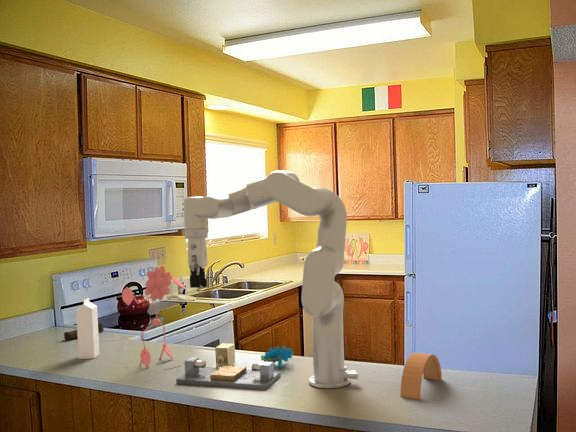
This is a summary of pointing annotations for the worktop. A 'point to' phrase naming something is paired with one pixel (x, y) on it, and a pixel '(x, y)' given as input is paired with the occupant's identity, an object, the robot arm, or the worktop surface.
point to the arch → (418, 373)
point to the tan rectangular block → (225, 355)
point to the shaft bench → (238, 383)
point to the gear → (277, 355)
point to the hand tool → (73, 335)
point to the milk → (87, 330)
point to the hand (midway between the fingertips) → (197, 285)
